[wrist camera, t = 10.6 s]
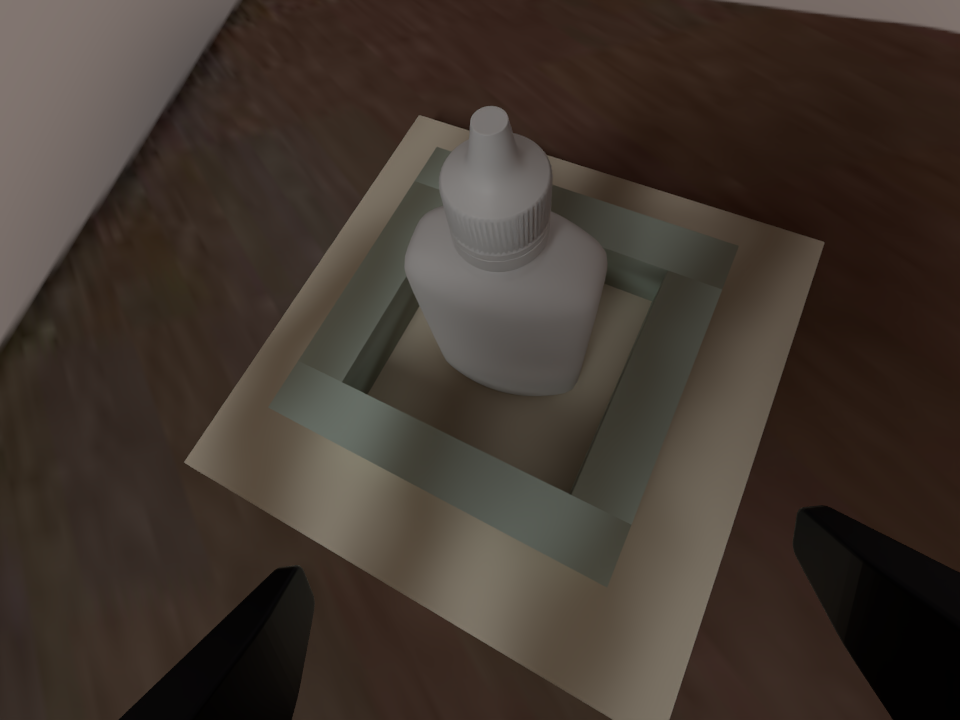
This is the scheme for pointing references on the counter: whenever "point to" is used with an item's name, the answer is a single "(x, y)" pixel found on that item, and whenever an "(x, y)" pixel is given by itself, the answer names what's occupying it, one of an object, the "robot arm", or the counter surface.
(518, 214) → the eye dropper bottle
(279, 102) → the counter surface
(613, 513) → the bottle socket
